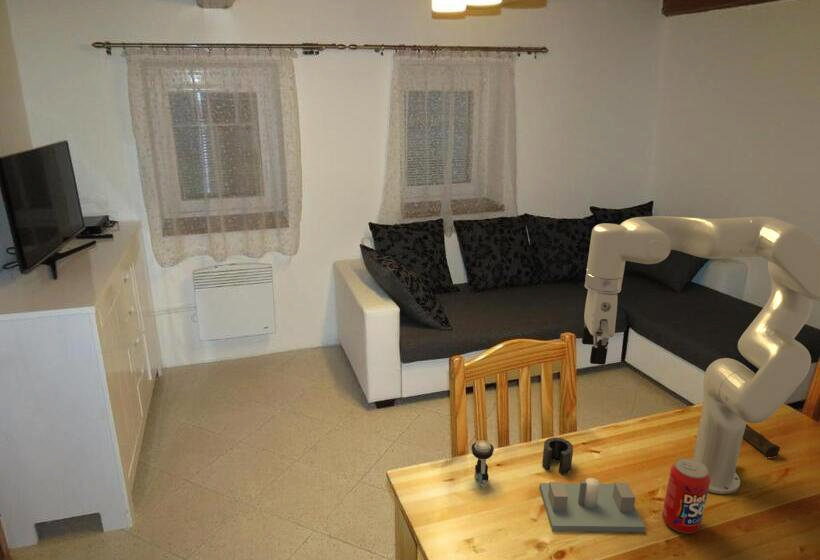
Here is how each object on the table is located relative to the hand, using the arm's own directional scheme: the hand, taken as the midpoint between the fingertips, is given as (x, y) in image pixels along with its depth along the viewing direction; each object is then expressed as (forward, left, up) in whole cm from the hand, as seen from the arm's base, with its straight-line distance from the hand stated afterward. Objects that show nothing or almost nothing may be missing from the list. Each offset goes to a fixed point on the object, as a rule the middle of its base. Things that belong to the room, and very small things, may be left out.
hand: (592, 353), depth 131 cm
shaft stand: (+6, +7, -35) cm, 36 cm away
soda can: (-6, +23, -35) cm, 42 cm away
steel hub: (-1, -7, -35) cm, 36 cm away
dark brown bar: (-51, +18, -36) cm, 65 cm away
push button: (+18, -15, -35) cm, 42 cm away
